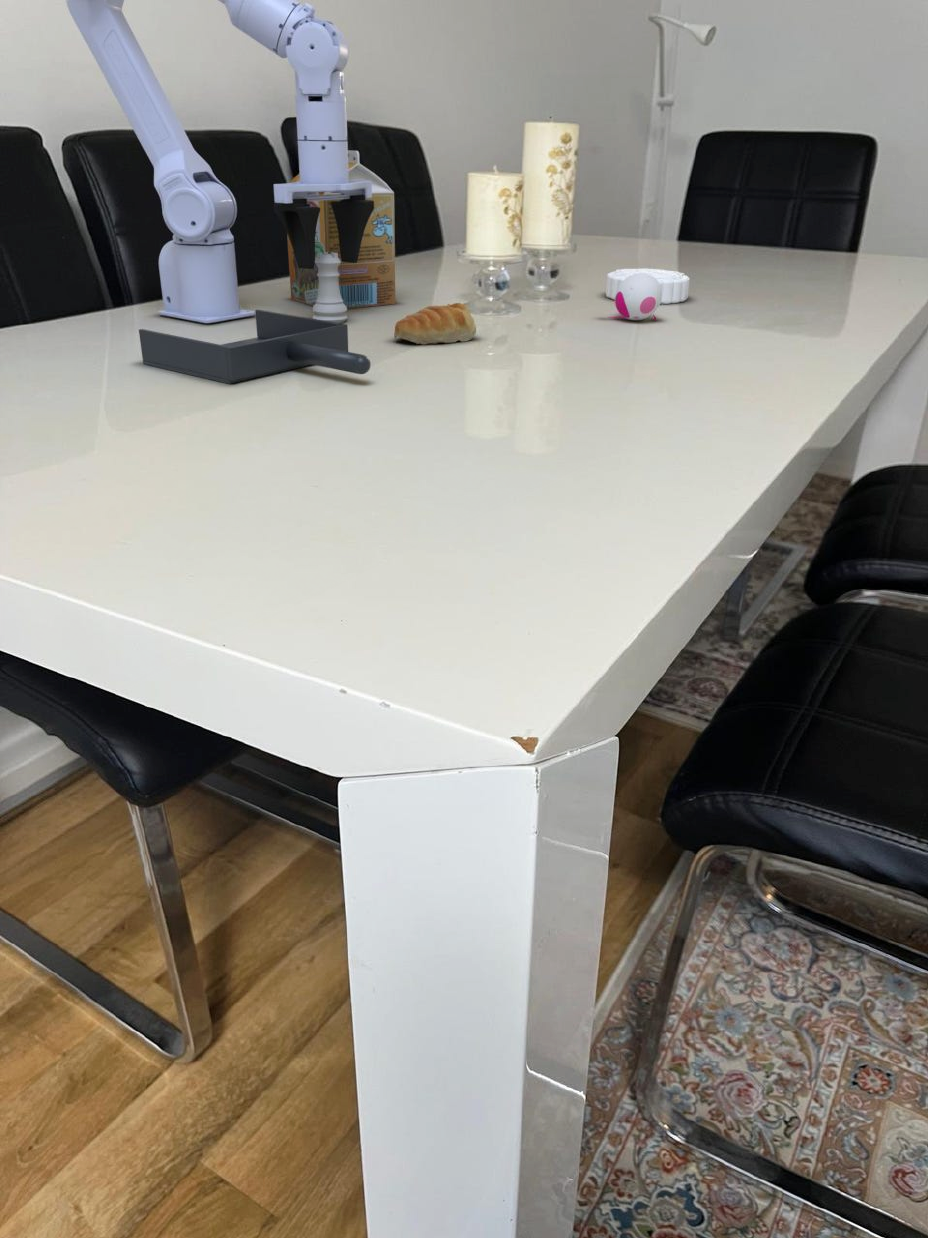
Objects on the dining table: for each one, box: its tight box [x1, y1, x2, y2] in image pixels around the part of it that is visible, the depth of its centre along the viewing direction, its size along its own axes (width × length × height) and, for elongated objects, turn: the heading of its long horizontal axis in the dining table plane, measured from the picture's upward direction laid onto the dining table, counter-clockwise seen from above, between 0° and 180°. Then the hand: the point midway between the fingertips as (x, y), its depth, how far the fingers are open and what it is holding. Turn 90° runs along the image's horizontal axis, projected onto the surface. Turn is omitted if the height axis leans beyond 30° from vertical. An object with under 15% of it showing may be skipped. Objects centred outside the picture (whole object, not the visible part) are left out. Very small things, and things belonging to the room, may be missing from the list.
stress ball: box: [608, 273, 662, 322], centre depth 124 cm, size 8×8×7 cm
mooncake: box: [605, 267, 691, 305], centre depth 141 cm, size 12×12×4 cm
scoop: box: [138, 309, 372, 385], centre depth 96 cm, size 23×16×3 cm
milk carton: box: [286, 149, 396, 310], centre depth 129 cm, size 11×11×19 cm
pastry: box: [393, 302, 477, 346], centre depth 110 cm, size 9×7×4 cm
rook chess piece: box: [311, 252, 349, 324], centre depth 119 cm, size 4×4×8 cm
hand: (328, 264), depth 117 cm, fingers open, 7 cm apart
